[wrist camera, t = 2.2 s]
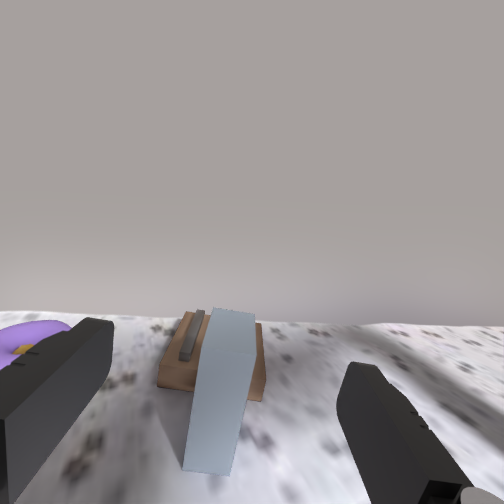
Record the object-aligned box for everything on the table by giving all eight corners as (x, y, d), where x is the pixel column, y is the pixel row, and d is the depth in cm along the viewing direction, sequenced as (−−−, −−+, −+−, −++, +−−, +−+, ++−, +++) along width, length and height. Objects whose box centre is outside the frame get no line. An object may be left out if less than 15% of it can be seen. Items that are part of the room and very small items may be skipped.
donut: (-26, 347, 28) (-17, 309, 28) (71, 344, 34) (81, 312, 34) (-59, 418, 21) (-47, 368, 20) (74, 399, 27) (86, 359, 26)
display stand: (257, 339, 40) (262, 316, 39) (261, 401, 29) (268, 371, 28) (183, 328, 40) (186, 304, 39) (157, 386, 28) (160, 355, 27)
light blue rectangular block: (233, 413, 27) (254, 314, 24) (229, 476, 21) (256, 355, 18) (196, 408, 27) (212, 307, 24) (181, 470, 21) (200, 346, 18)
